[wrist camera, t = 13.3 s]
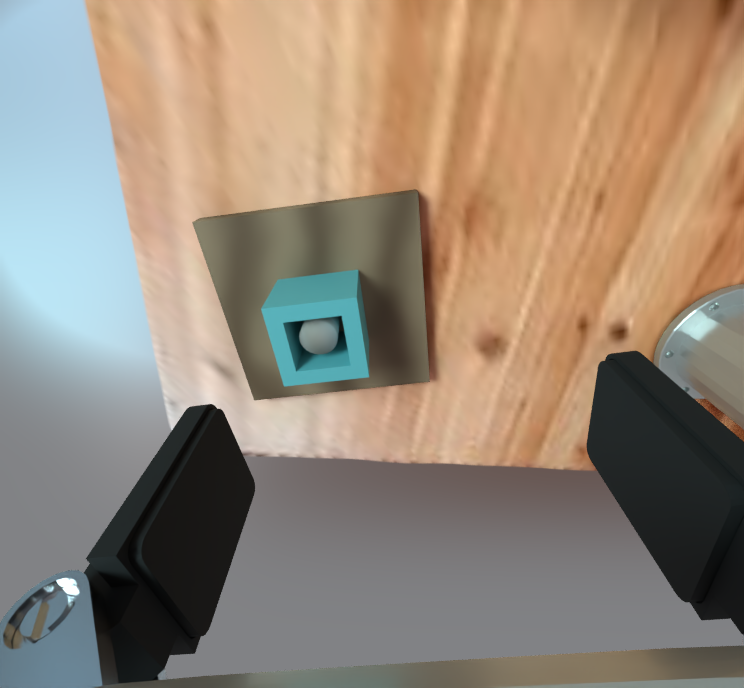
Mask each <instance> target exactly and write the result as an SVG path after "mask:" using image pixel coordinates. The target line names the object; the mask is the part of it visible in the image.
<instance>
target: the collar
mask: <svg viewBox="0 0 744 688" xmlns="http://www.w3.org/2000/svg"><path fill="white" fill-rule="evenodd" d="M261 310H262V314H263V317H264V321H265V324H266V327H267V331H268V334H269V337H270V341H271V344H272V348H273V351H274V354H275V358H276V361H277V364H278V368H279V371H280V375H281V378H282V381H283V385H284V387H285V386H294V385H303V384H312V383H321V382H330V381H339V380H349V379H358V378H367V377H369V338H368V331H367V324H366V317H365V311H364V304H363V297H362V291H361V284H360V277H359V271H358V270H351V271H343V272H335V273H327V274H319V275H311V276H303V277H295V278H287V279H279V280H277V282H276V284H275V285H274V287H273V289H272V291H271V292H270V294H269V296H268V298H267V299H266V301H265V303H264V305H263V306H262V308H261ZM336 316H342V321H343V326H344V331H341V332H339V333H338V340H337V344H336V346H335V348H334V349H333V350H332V351H330V352H328V353H326V354H313V353H311V352H309V351H307V350H306V349H305V348H304V347H303V346H302V345H301V343H300V339H299V335H300V331H301V328H302V325H303V320H310V319H319V318H327V317H336Z"/></svg>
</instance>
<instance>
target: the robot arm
mask: <svg viewBox="0 0 744 688" xmlns="http://www.w3.org/2000/svg"><path fill="white" fill-rule="evenodd" d="M653 363H654V364H653ZM653 363H652V362H651V361H649V360H648V359H647V358H646V357H645V356H644V355H642V354H641V353H640V352H638V351H629V352H621V353H613V354H609V355H608V356H607V357H606V359H605V361H601V362H600V363H599V366H598V372H597V378H596V385H595V392H594V399H593V405H592V412H591V419H590V425H589V432H588V439H587V452H588V455H589V458H590V459H591V461H592V463H593V464H594V466H595V468H596V469H597V471H598V472H599V474H600V475H601V477H602V478H603V480H604V482H605V483H606V485H607V486H608V488H609V489H610V491H611V492H612V494H613V496H614V497H615V499H616V500H617V502H618V503H619V505H620V507H621V508H622V510H623V511H624V513H625V514H626V516H627V518H628V519H629V521H630V522H631V524H632V525H633V527H634V529H635V530H636V532H637V533H638V535H639V536H640V538H641V540H642V541H643V543H644V544H645V546H646V547H647V549H648V550H649V552H650V554H651V555H652V557H653V558H654V560H655V561H656V563H657V565H658V566H659V568H660V569H661V571H662V572H663V574H664V576H665V577H666V579H667V580H668V582H669V583H670V585H671V586H672V588H673V590H674V591H675V593H676V594H677V595H678V597H680V599H681V600H683V601H684V602H690V603H691V605H692V606H693V608H694V609H695V611H696V612H697V614H698V615H699V617H700V619H701V620H713V619H728V618H731V619H732V621H733V622H734V624H735V625H736V626H737V628H738V629H739V631H740V632H741V633H742V634H743V641H742V646H724V647H723V646H722V647H696V648H669V649H668V648H667V649H650V650H631V651H612V652H594V653H575V654H557V655H539V656H521V657H503V658H486V659H469V660H453V661H437V662H420V663H404V664H386V665H370V666H354V667H337V668H322V669H306V670H292V671H276V672H261V673H245V674H231V675H216V676H201V677H189V678H179V679H167V677H166V672H165V666H166V663H167V661H168V658H169V655H180V654H194V653H195V652H196V649H197V645H198V642H199V640H200V637H201V636H204V635H205V634H206V633H207V631H208V630H209V627H210V625H211V622H212V619H213V616H214V613H215V610H216V607H217V604H218V601H219V598H220V595H221V592H222V589H223V586H224V583H225V580H226V577H227V574H228V571H229V568H230V565H231V562H232V559H233V556H234V553H235V550H236V547H237V544H238V541H239V538H240V535H241V532H242V529H243V526H244V523H245V520H246V517H247V514H248V511H249V508H250V505H251V502H252V499H253V496H254V492H255V483H254V479H253V477H252V475H251V472H250V470H249V468H248V466H247V463H246V461H245V459H244V457H243V455H242V452H241V450H240V448H239V446H238V443H237V441H236V439H235V437H234V434H233V432H232V430H231V428H230V425H229V423H228V421H227V419H226V417H225V414H224V412H223V411H222V410H221V409H217V408H216V407H215V406H214V405H212V404H208V405H200V406H192V407H189V408H188V409H187V410H186V411H185V412H184V414H183V415H182V417H181V418H180V420H179V421H178V423H177V424H176V426H175V427H174V429H173V430H172V432H171V433H170V435H169V436H168V438H167V439H166V441H165V442H164V443H163V445H162V447H161V448H160V450H159V451H158V453H157V454H156V455H155V457H154V458H153V460H152V461H151V463H150V464H149V466H148V467H147V469H146V471H145V472H144V473H143V475H142V476H141V478H140V479H139V481H138V482H137V484H136V485H135V487H134V488H133V490H132V491H131V493H130V494H129V496H128V497H127V498H126V500H125V501H124V503H123V505H122V506H121V507H120V509H119V510H118V512H117V513H116V515H115V516H114V518H113V519H112V521H111V522H110V524H109V525H108V527H107V528H106V530H105V531H104V533H103V534H102V536H101V537H100V539H99V540H98V542H97V543H96V545H95V546H94V548H93V549H92V550H91V552H90V554H89V555H88V557H87V558H86V559H87V560H88V561H89V563H90V564H89V566H88V567H87V569H86V570H85V572H84V573H82V572H80V571H79V570H71V571H70V570H68V571H65V572H61V573H58V574H55V575H53V576H51V577H49V578H47V579H46V580H44V581H42V582H40V583H39V584H37V585H36V586H35V587H33V588H32V589H30V590H29V591H28V592H27V593H26V594H24V595H23V596H22V597H21V598H20V599H19V600H18V601H17V602H16V603H15V604H14V605H13V606H12V608H11V609H10V610H9V611H8V612H7V614H6V615H5V616H4V617H3V619H2V621H1V622H0V688H744V442H743V441H742V440H741V439H740V438H739V437H737V436H736V435H735V434H734V433H733V432H732V431H730V430H729V429H728V428H727V427H726V426H725V425H724V424H722V423H721V422H720V421H719V420H718V419H717V418H715V417H714V416H713V415H712V414H711V413H710V412H708V411H707V410H706V409H705V408H704V407H703V406H702V405H700V404H699V403H698V402H697V401H696V400H695V399H707V400H708V401H709V402H711V403H712V404H713V405H714V406H715V407H717V408H718V409H719V410H720V411H722V412H723V413H724V414H725V415H726V416H728V417H729V418H730V419H731V420H733V421H734V422H735V423H736V424H737V425H739V426H740V427H741V428H742V429H744V284H739V285H734V286H730V287H726V288H723V289H720V290H718V291H715V292H713V293H711V294H708V295H706V296H705V297H703V298H701V299H699V300H698V301H696V302H694V303H693V304H692V305H690V306H689V307H688V308H686V309H685V310H684V311H682V312H681V313H680V314H679V315H678V316H677V317H676V318H675V319H674V320H673V321H672V322H671V324H670V325H669V326H668V327H667V329H666V330H665V331H664V333H663V335H662V336H661V338H660V340H659V342H658V344H657V347H656V350H655V353H654V362H653Z"/></svg>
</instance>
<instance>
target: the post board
mask: <svg viewBox="0 0 744 688" xmlns="http://www.w3.org/2000/svg"><path fill="white" fill-rule="evenodd" d="M192 223H193V226H194V229H195V231H196V234H197V237H198V240H199V243H200V246H201V249H202V252H203V254H204V257H205V260H206V263H207V266H208V269H209V272H210V274H211V277H212V280H213V283H214V286H215V289H216V292H217V294H218V297H219V300H220V303H221V306H222V309H223V312H224V315H225V317H226V320H227V323H228V326H229V329H230V332H231V335H232V337H233V340H234V343H235V346H236V349H237V352H238V355H239V358H240V360H241V363H242V366H243V369H244V372H245V375H246V378H247V380H248V383H249V386H250V389H251V392H252V395H253V398H254V400H262V399H271V398H280V397H290V396H299V395H309V394H318V393H327V392H337V391H346V390H355V389H365V388H374V387H384V386H393V385H402V384H412V383H421V382H430V381H429V364H428V348H427V331H426V315H425V298H424V282H423V265H422V249H421V232H420V216H419V199H418V192H417V190H409V191H401V192H394V193H386V194H379V195H371V196H364V197H356V198H349V199H341V200H334V201H326V202H319V203H311V204H304V205H296V206H288V207H281V208H273V209H266V210H258V211H251V212H243V213H236V214H228V215H221V216H213V217H206V218H199V219H197V220H196V221H194V222H192ZM351 270H358V271H359V277H360V284H361V291H362V297H363V304H364V311H365V317H366V324H367V331H368V338H369V377H367V378H358V379H349V380H339V381H330V382H321V383H312V384H303V385H294V386H285V387H284V385H283V381H282V378H281V375H280V371H279V368H278V364H277V361H276V358H275V354H274V351H273V348H272V344H271V341H270V337H269V334H268V331H267V327H266V324H265V321H264V317H263V314H262V310H261V308H262V306H263V305H264V303H265V301H266V299H267V298H268V296H269V294H270V292H271V291H272V289H273V287H274V285H275V284H276V282H277V280H279V279H287V278H295V277H303V276H311V275H319V274H327V273H335V272H343V271H351ZM341 331H344V326H343V321H342V316H336V317H327V318H319V319H310V320H303V325H302V328H301V331H300V335H299V339H300V343H301V345H302V346H303V347H304V348H305V349H306V350H307V351H309V352H311V353H313V354H326V353H328V352H330V351H332V350H333V349H334V348H335V346H336V344H337V340H338V333H339V332H341Z"/></svg>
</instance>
